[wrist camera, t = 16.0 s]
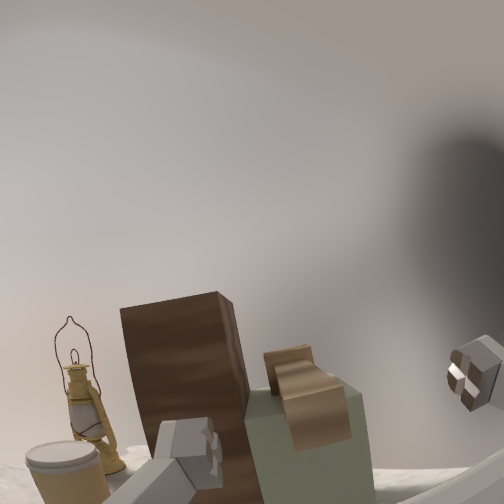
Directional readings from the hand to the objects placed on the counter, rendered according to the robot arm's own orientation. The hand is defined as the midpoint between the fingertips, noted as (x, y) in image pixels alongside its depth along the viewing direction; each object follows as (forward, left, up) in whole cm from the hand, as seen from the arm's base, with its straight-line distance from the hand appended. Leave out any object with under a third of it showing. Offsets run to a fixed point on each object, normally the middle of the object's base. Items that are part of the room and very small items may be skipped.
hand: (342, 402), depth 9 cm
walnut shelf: (+11, +19, -20) cm, 29 cm away
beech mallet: (+13, +9, -4) cm, 16 cm away
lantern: (+13, +55, -20) cm, 60 cm away
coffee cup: (0, +33, -20) cm, 38 cm away
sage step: (+16, +12, -20) cm, 28 cm away
